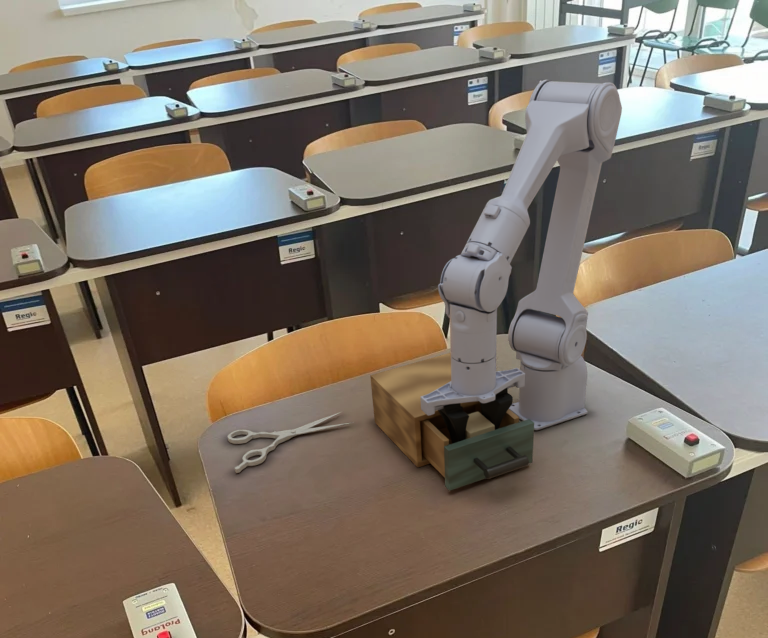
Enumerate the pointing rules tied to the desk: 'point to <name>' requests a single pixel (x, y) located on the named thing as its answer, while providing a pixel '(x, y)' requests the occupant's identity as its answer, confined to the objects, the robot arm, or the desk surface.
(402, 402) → the cabinet
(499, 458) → the drawer
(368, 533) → the desk surface
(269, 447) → the scissors
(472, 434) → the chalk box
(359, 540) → the desk surface
